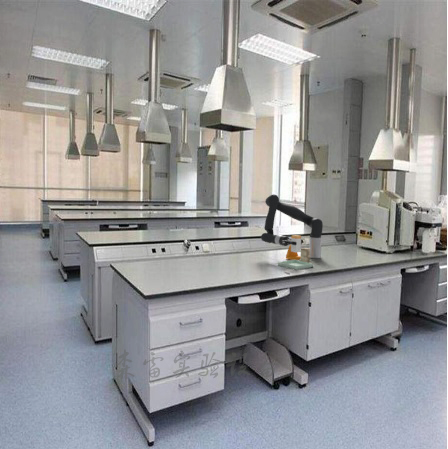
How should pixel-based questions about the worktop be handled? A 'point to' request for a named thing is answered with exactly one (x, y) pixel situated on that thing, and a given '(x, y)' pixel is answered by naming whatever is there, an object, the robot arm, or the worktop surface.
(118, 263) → the worktop surface
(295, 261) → the tray
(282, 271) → the worktop surface
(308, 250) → the plain box
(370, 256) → the worktop surface
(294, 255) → the bracket
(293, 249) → the labelled box
